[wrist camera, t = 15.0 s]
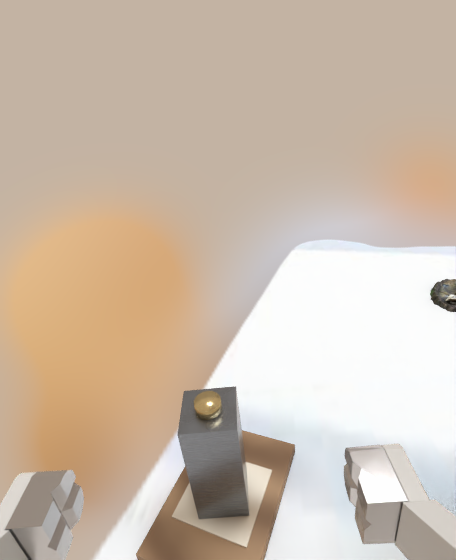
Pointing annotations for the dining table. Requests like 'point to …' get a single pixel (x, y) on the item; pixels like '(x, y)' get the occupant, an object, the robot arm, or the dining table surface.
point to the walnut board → (229, 530)
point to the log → (445, 294)
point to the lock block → (214, 452)
